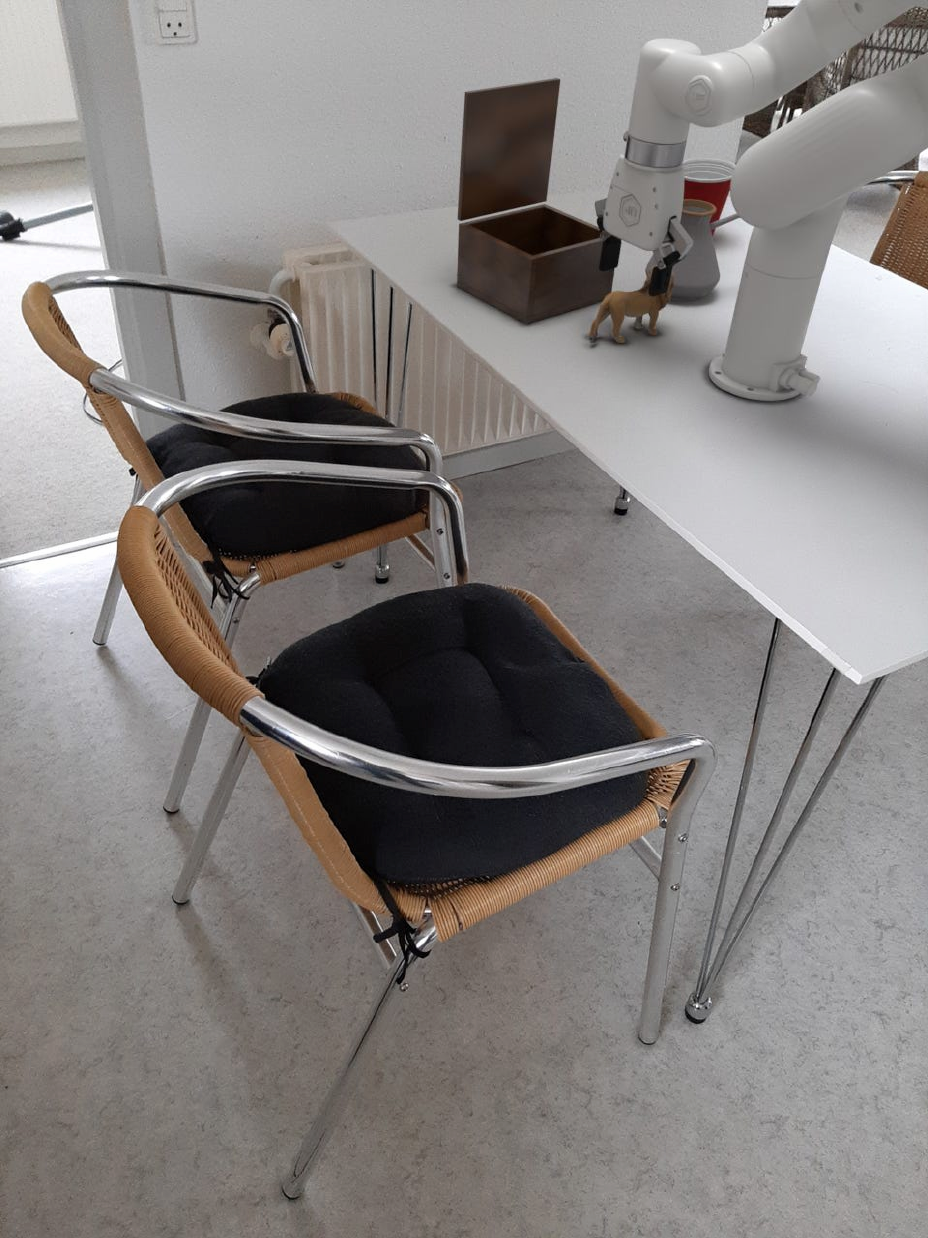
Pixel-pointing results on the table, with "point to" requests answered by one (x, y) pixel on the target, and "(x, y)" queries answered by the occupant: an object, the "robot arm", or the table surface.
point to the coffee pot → (696, 252)
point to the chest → (532, 262)
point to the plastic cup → (708, 182)
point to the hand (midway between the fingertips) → (632, 281)
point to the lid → (506, 147)
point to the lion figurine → (632, 308)
